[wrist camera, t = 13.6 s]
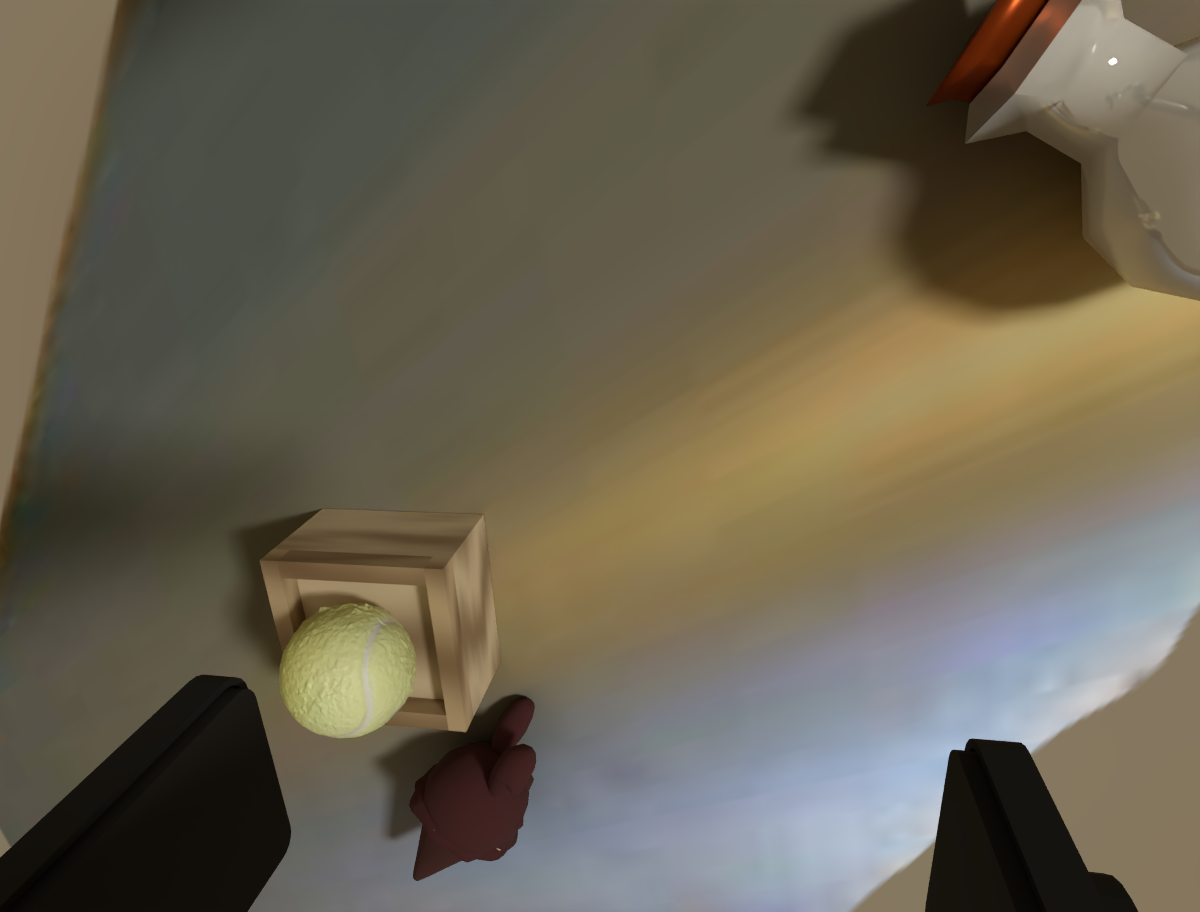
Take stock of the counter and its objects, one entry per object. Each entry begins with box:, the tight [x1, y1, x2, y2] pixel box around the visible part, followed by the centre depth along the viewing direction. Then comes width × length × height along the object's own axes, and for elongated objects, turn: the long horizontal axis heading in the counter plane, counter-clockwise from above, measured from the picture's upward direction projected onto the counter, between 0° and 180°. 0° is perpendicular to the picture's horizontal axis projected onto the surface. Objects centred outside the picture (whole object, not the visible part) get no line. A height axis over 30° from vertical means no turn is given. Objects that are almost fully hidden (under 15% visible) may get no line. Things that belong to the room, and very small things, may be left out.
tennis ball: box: [279, 603, 417, 738], centre depth 37 cm, size 6×7×7 cm
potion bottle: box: [927, 0, 1200, 301], centre depth 26 cm, size 9×10×15 cm
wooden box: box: [259, 509, 501, 732], centre depth 41 cm, size 10×10×6 cm
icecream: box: [409, 698, 536, 881], centre depth 45 cm, size 7×7×15 cm
